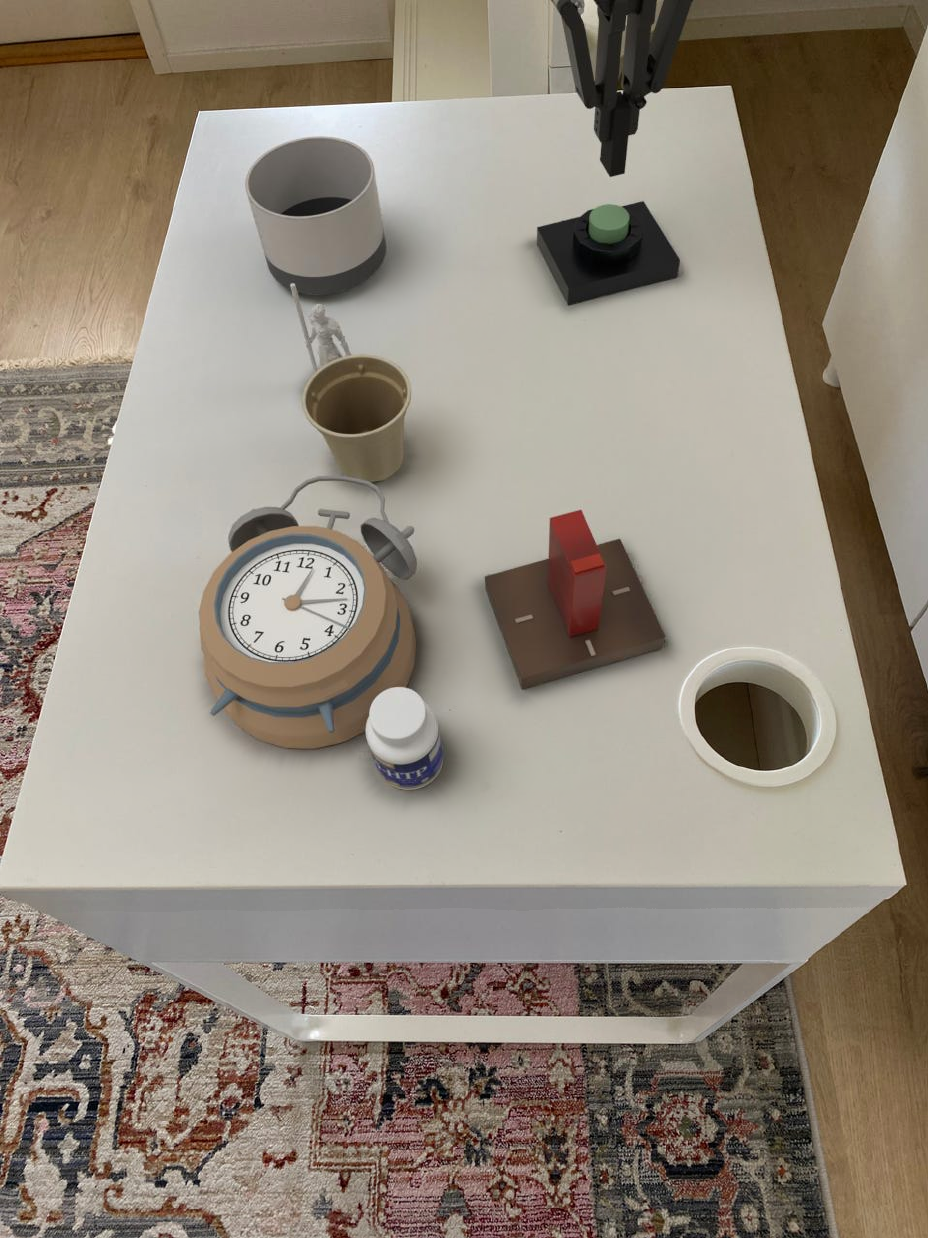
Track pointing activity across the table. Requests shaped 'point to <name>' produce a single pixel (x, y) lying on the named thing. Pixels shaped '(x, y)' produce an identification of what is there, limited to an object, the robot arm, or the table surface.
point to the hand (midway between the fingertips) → (612, 166)
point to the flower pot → (360, 413)
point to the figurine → (321, 333)
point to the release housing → (606, 256)
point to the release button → (608, 224)
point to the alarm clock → (307, 624)
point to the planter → (317, 214)
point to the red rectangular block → (575, 572)
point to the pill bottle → (404, 739)
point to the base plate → (541, 630)
